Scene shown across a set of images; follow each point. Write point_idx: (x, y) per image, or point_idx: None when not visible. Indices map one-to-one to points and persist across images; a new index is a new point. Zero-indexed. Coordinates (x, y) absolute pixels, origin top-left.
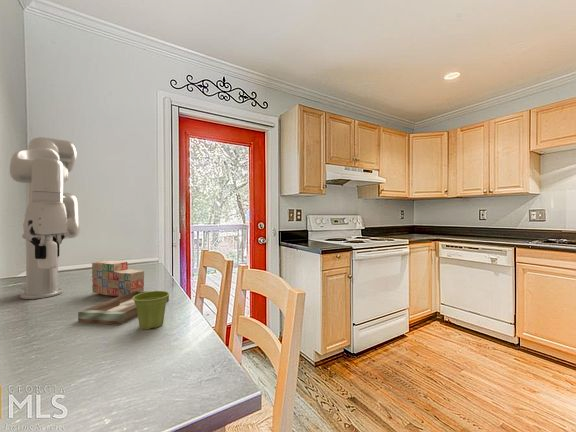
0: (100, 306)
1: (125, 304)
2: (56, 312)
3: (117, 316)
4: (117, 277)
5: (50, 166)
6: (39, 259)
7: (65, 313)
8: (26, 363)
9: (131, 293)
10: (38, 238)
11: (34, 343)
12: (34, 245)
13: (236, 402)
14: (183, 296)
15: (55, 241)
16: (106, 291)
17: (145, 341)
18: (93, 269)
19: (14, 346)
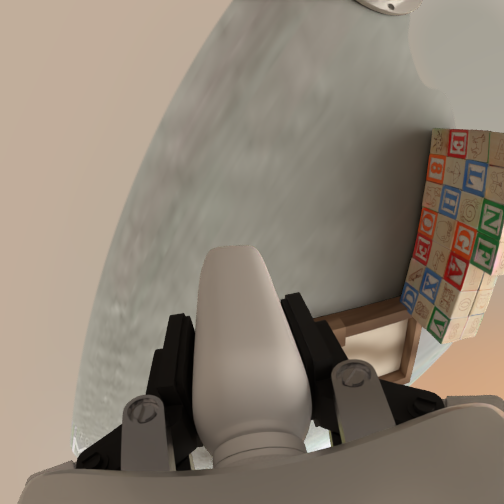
0: None
1: (346, 344)
2: (264, 196)
3: None
4: (451, 275)
5: None
6: (196, 315)
7: (265, 235)
8: (94, 406)
9: (400, 320)
10: (173, 465)
11: (121, 362)
12: (140, 408)
13: None
14: (425, 370)
15: (333, 423)
16: (429, 203)
17: (210, 463)
18: (492, 140)
19: (97, 344)
